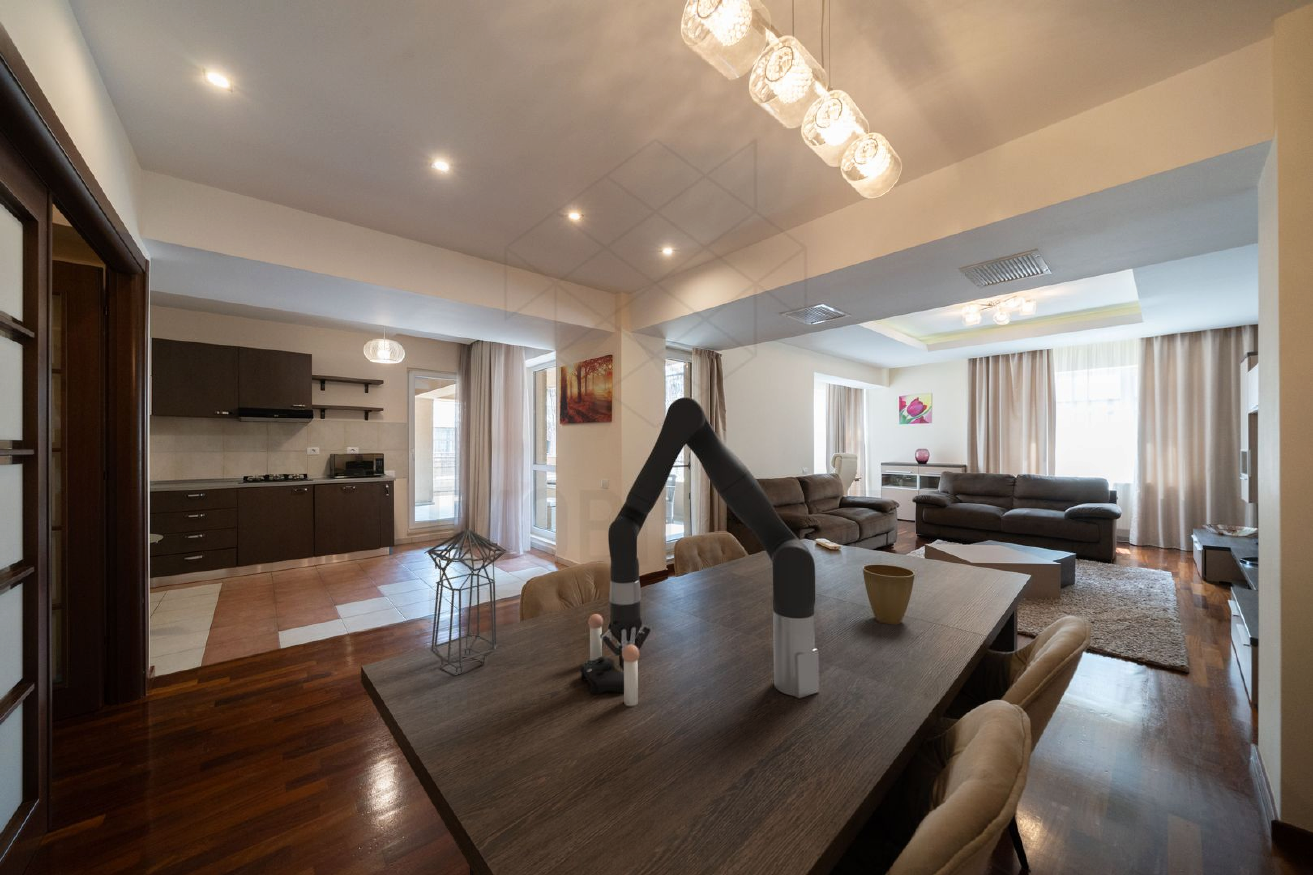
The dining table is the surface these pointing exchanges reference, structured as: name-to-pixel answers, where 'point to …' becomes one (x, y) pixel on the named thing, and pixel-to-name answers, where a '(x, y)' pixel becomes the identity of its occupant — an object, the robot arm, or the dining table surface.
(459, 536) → the geometric lantern
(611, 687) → the gaming controller
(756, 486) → the robot arm
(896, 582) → the plant pot
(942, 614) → the dining table surface
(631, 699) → the posts
